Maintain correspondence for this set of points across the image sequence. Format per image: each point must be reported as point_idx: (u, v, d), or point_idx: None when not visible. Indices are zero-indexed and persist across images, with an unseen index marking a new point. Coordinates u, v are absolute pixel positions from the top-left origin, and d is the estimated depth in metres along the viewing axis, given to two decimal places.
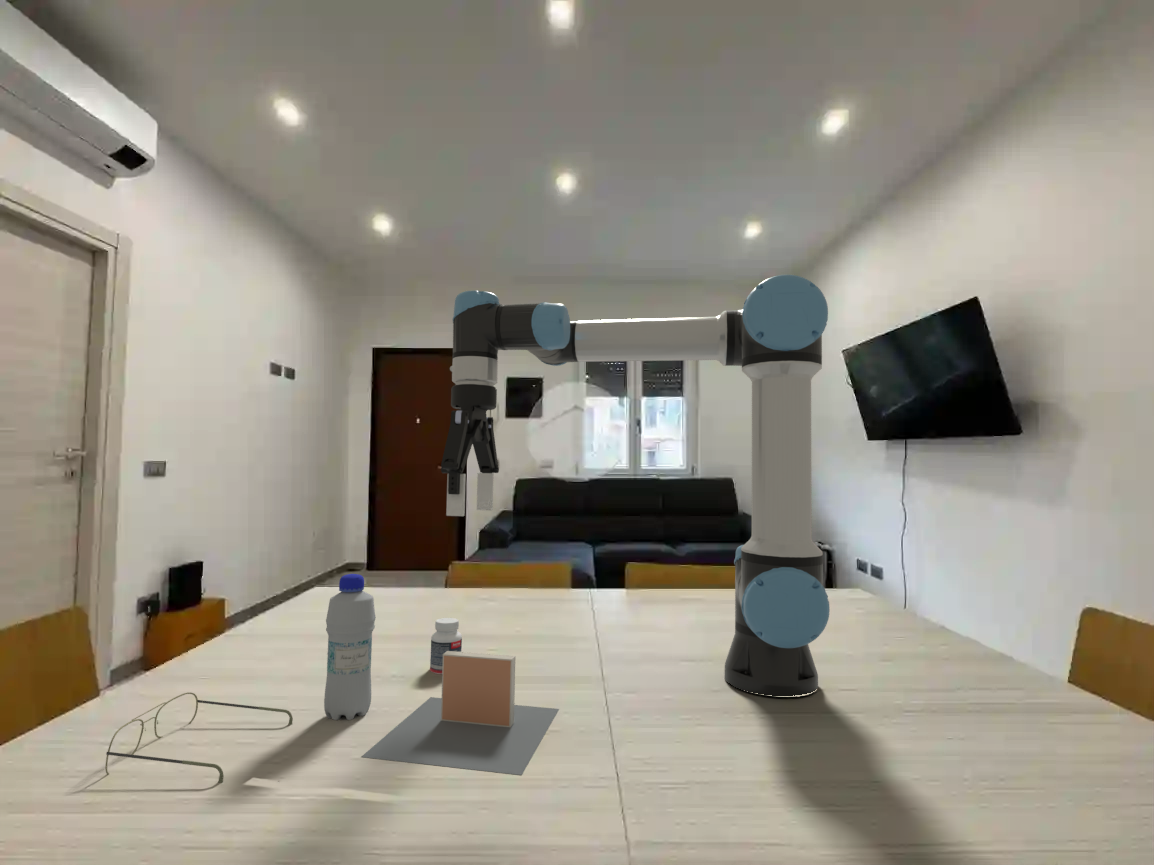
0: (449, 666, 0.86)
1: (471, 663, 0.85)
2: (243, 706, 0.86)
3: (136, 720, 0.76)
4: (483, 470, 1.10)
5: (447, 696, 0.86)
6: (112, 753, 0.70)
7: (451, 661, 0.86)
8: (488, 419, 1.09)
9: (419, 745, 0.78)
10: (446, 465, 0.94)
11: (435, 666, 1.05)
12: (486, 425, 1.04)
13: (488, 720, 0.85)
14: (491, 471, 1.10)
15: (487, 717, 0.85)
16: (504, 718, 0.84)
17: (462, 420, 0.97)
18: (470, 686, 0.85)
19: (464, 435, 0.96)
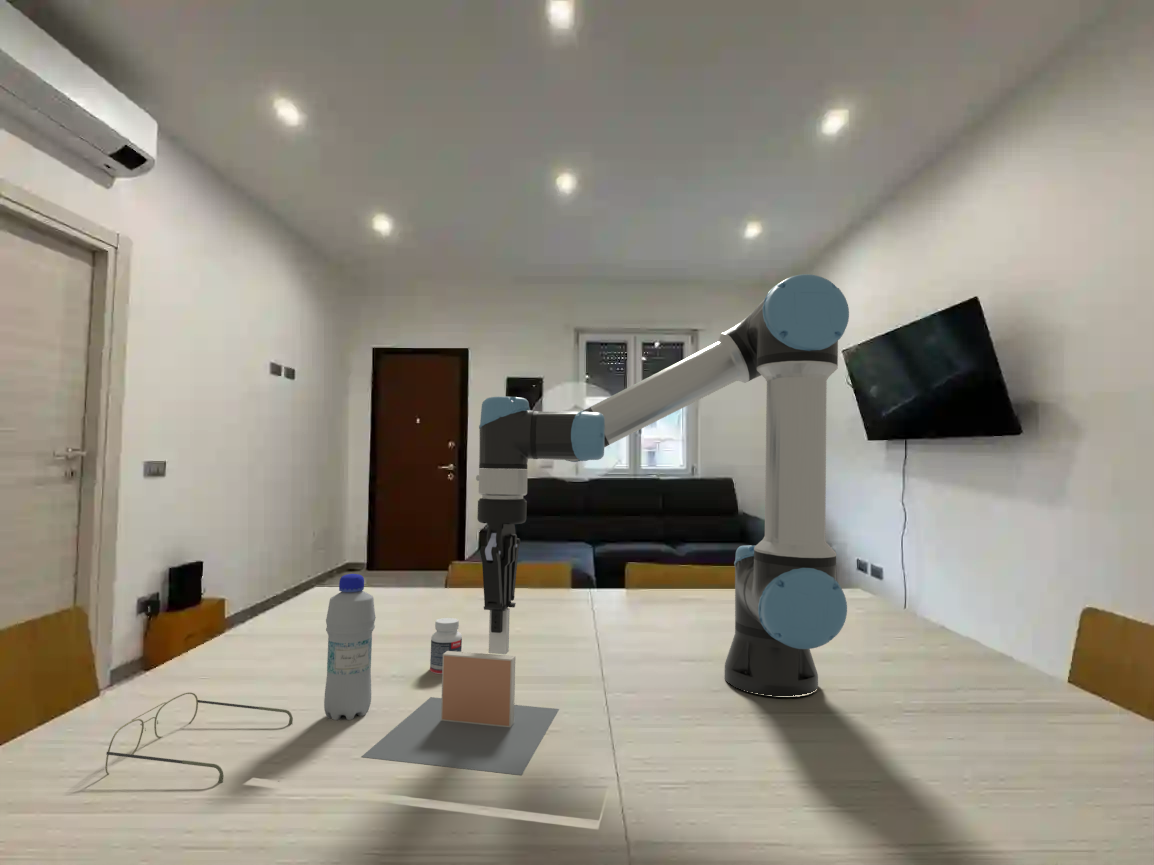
0: (449, 666, 0.86)
1: (471, 663, 0.85)
2: (243, 706, 0.86)
3: (136, 720, 0.76)
4: None
5: (447, 696, 0.86)
6: (112, 753, 0.70)
7: (451, 661, 0.86)
8: None
9: (419, 745, 0.78)
10: (490, 607, 0.92)
11: (435, 666, 1.05)
12: (515, 539, 0.96)
13: (488, 720, 0.85)
14: (507, 603, 0.96)
15: (487, 717, 0.85)
16: (504, 718, 0.84)
17: (494, 559, 0.90)
18: (470, 686, 0.85)
19: (500, 571, 0.91)
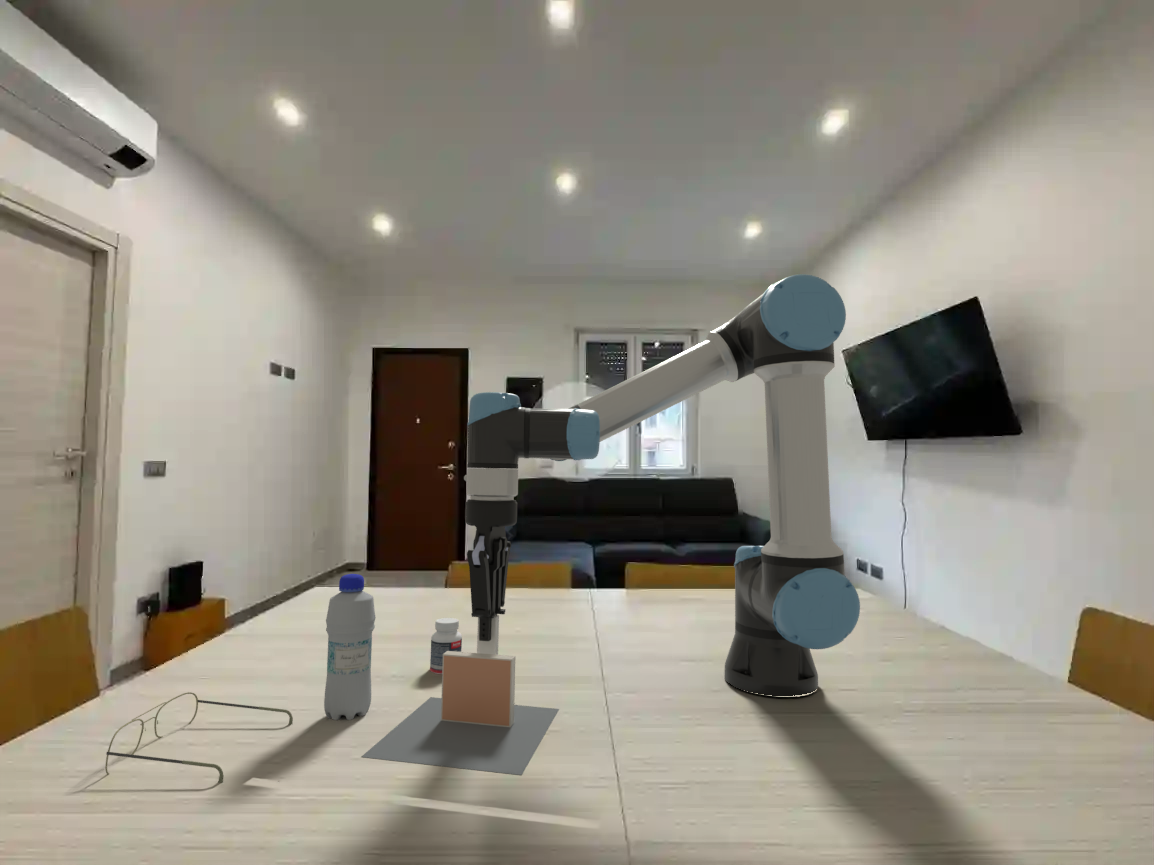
0: (449, 666, 0.86)
1: (471, 663, 0.85)
2: (243, 706, 0.86)
3: (136, 720, 0.76)
4: None
5: (447, 696, 0.86)
6: (112, 753, 0.70)
7: (451, 661, 0.86)
8: None
9: (419, 745, 0.78)
10: (478, 614, 0.87)
11: (435, 666, 1.05)
12: (505, 542, 0.92)
13: (488, 720, 0.85)
14: (496, 610, 0.91)
15: (487, 717, 0.85)
16: (504, 718, 0.84)
17: (482, 564, 0.85)
18: (470, 686, 0.85)
19: (488, 576, 0.87)
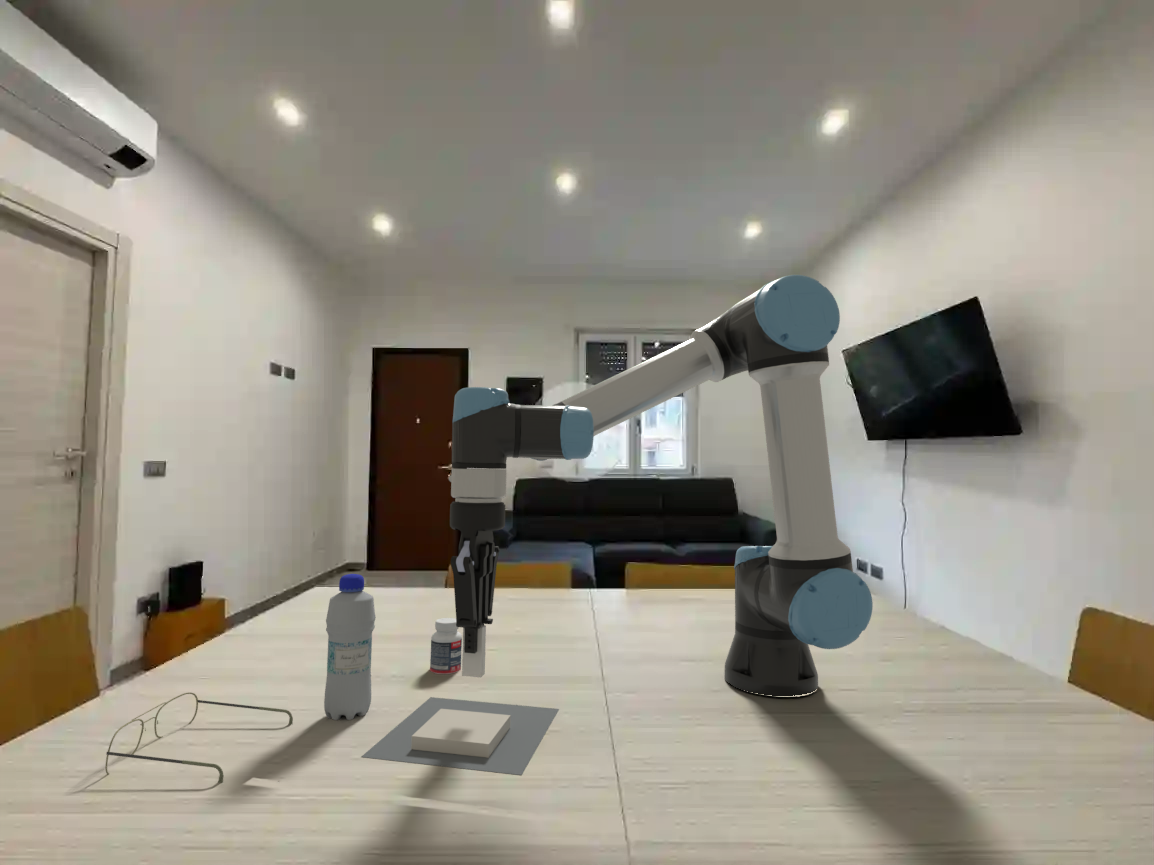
0: None
1: None
2: (243, 706, 0.86)
3: (136, 720, 0.76)
4: None
5: None
6: (112, 753, 0.70)
7: None
8: None
9: None
10: (463, 625, 0.81)
11: (435, 666, 1.05)
12: (492, 547, 0.86)
13: None
14: (483, 620, 0.85)
15: None
16: None
17: (466, 571, 0.80)
18: None
19: (473, 584, 0.81)
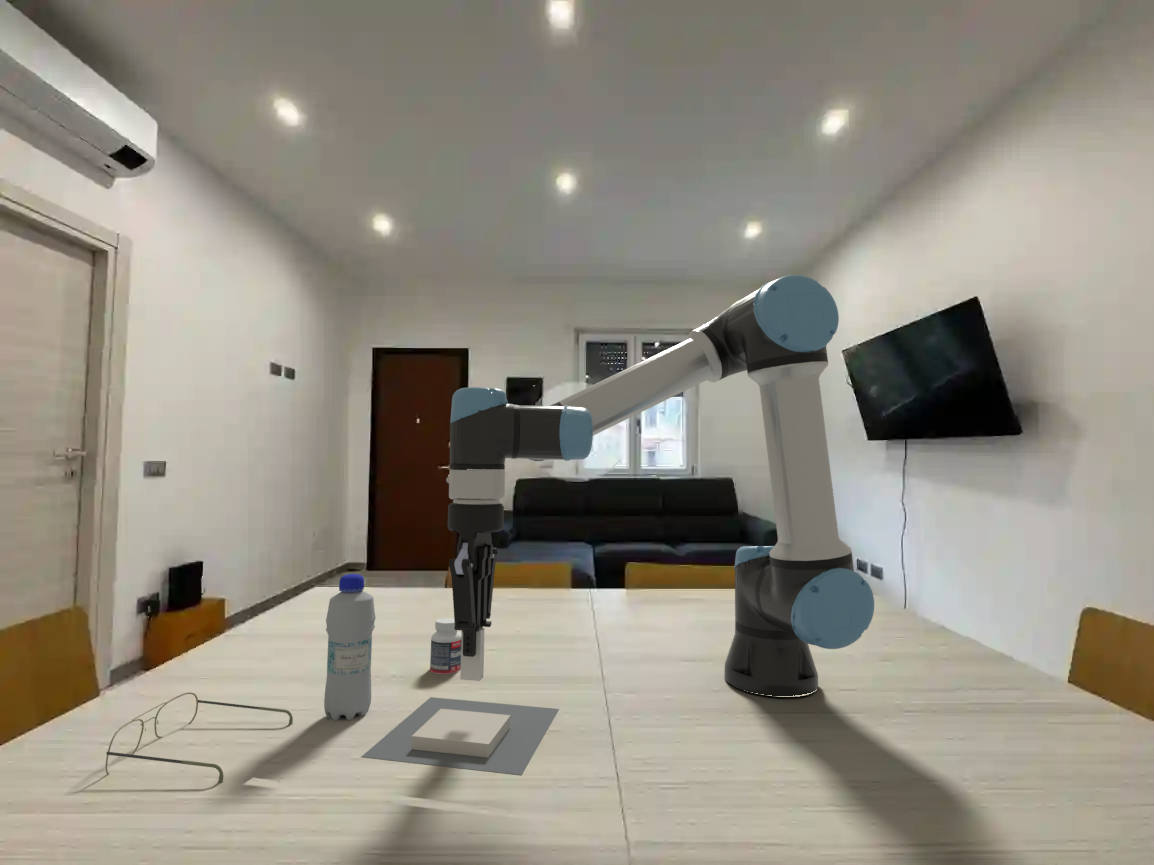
0: None
1: None
2: (243, 706, 0.86)
3: (136, 720, 0.76)
4: None
5: None
6: (112, 753, 0.70)
7: None
8: None
9: None
10: (461, 628, 0.80)
11: (435, 666, 1.05)
12: (491, 549, 0.85)
13: None
14: (481, 622, 0.84)
15: None
16: None
17: (465, 573, 0.79)
18: None
19: (472, 586, 0.80)
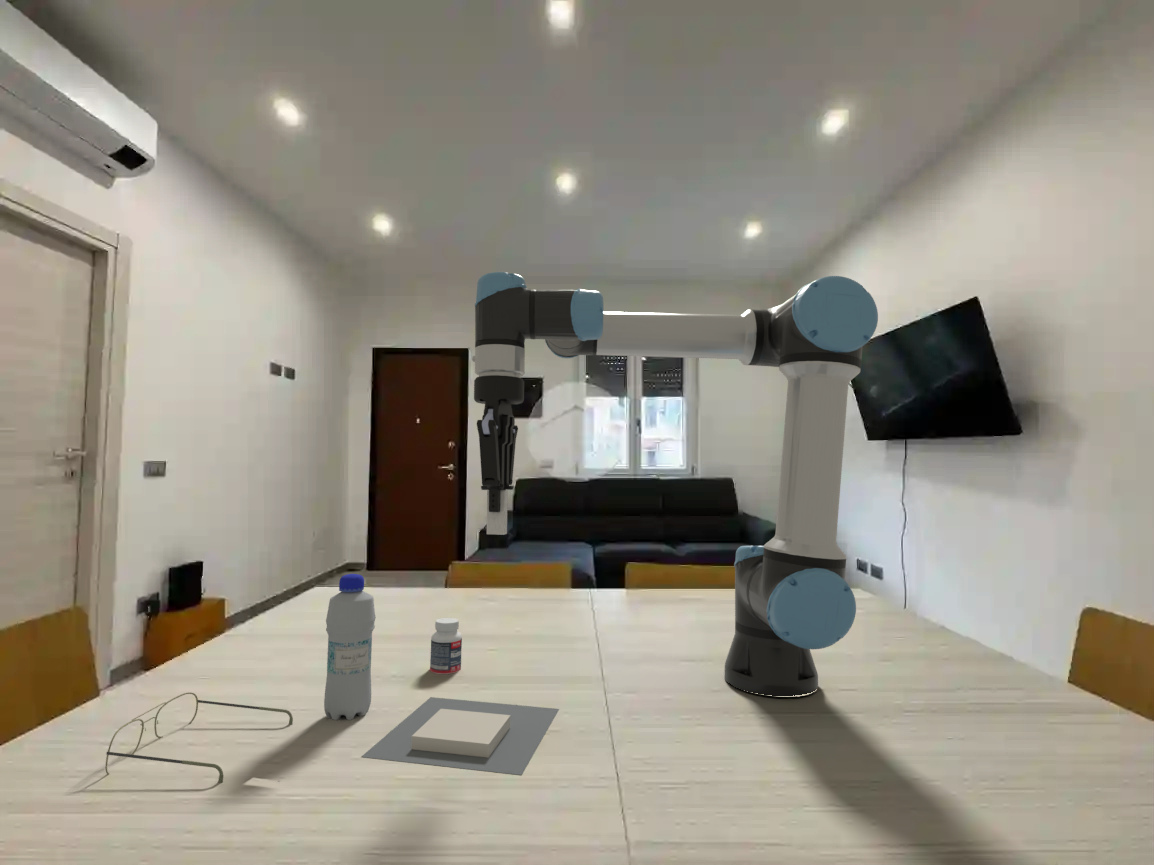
0: None
1: None
2: (243, 706, 0.86)
3: (136, 720, 0.76)
4: None
5: None
6: (112, 753, 0.70)
7: None
8: None
9: None
10: (487, 484, 0.90)
11: (435, 666, 1.05)
12: (512, 420, 0.94)
13: None
14: (504, 485, 0.94)
15: None
16: None
17: (491, 432, 0.88)
18: None
19: (497, 446, 0.89)
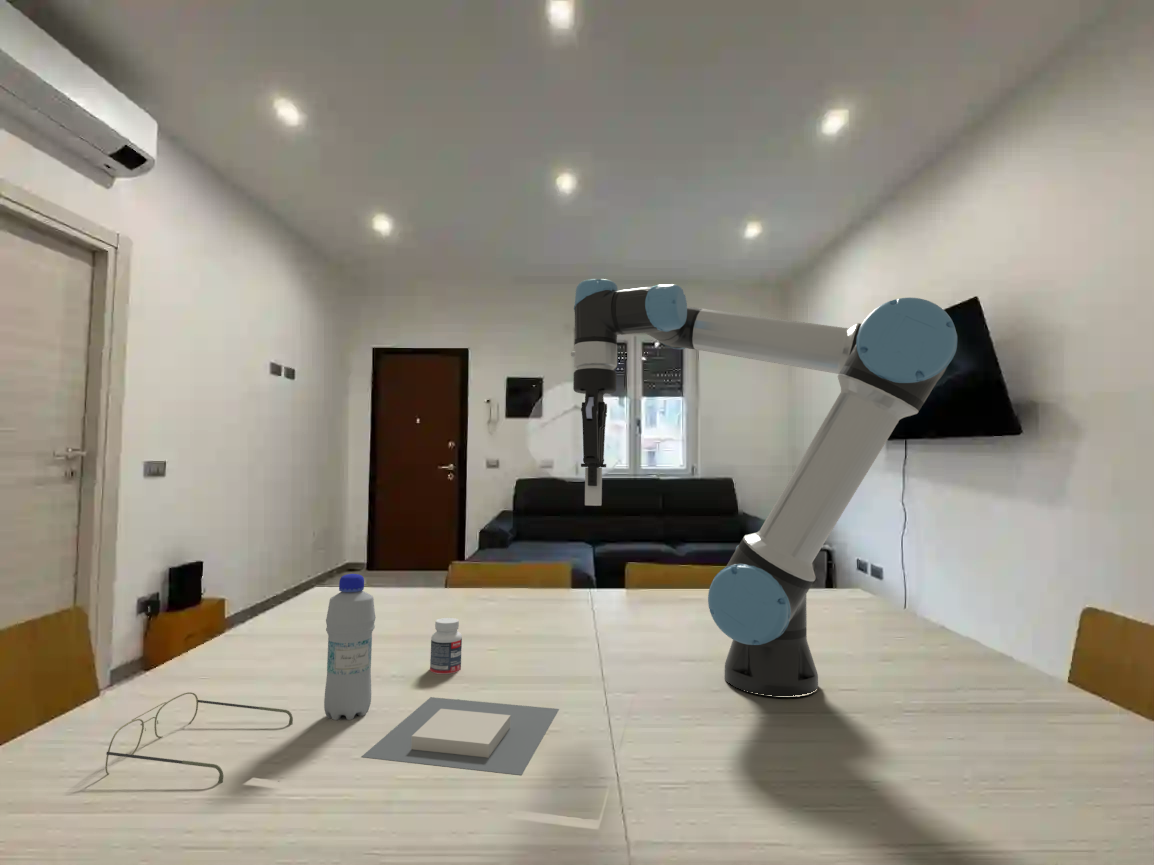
0: None
1: None
2: (243, 706, 0.86)
3: (136, 720, 0.76)
4: None
5: None
6: (112, 753, 0.70)
7: None
8: None
9: None
10: (588, 462, 1.05)
11: (435, 666, 1.05)
12: (606, 407, 1.09)
13: None
14: None
15: None
16: None
17: (593, 417, 1.03)
18: None
19: (597, 429, 1.04)
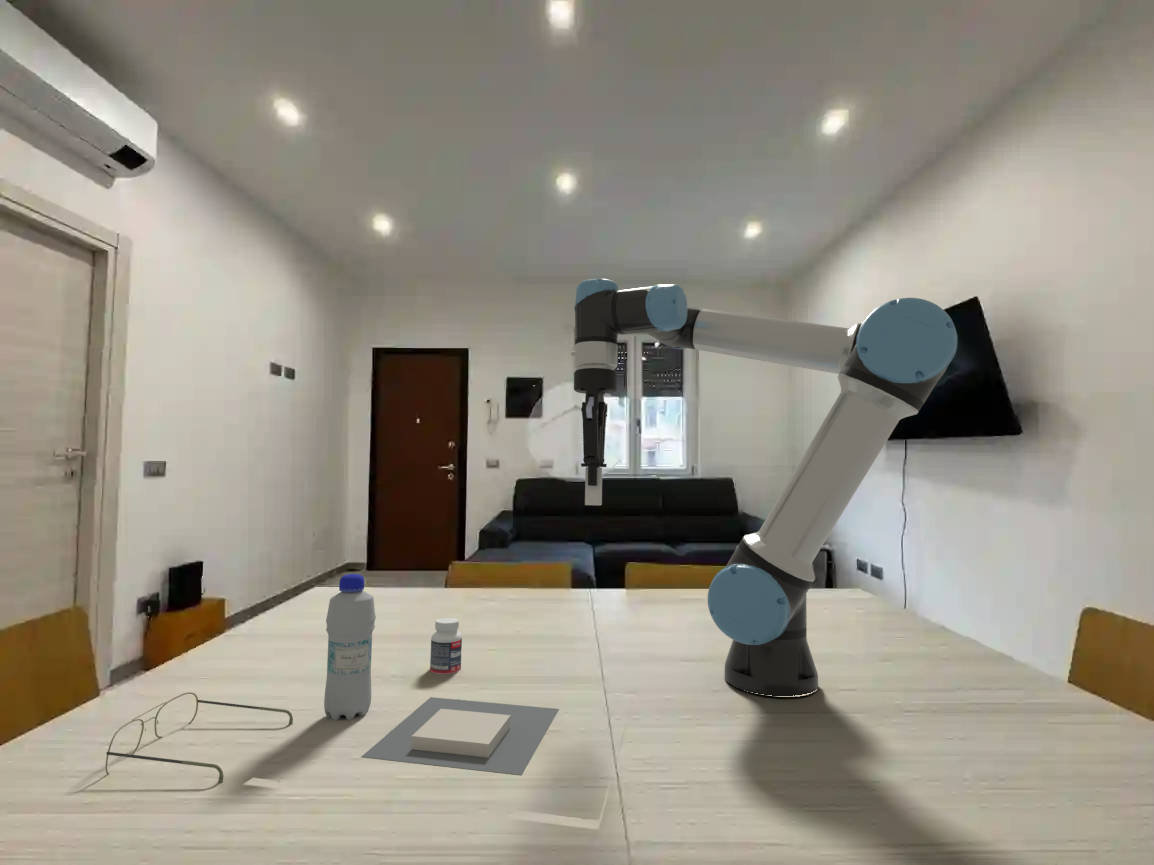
0: None
1: None
2: (243, 706, 0.86)
3: (136, 720, 0.76)
4: None
5: None
6: (112, 753, 0.70)
7: None
8: None
9: None
10: (588, 461, 1.05)
11: (435, 666, 1.05)
12: (606, 407, 1.09)
13: None
14: None
15: None
16: None
17: (593, 417, 1.03)
18: None
19: (597, 428, 1.04)
